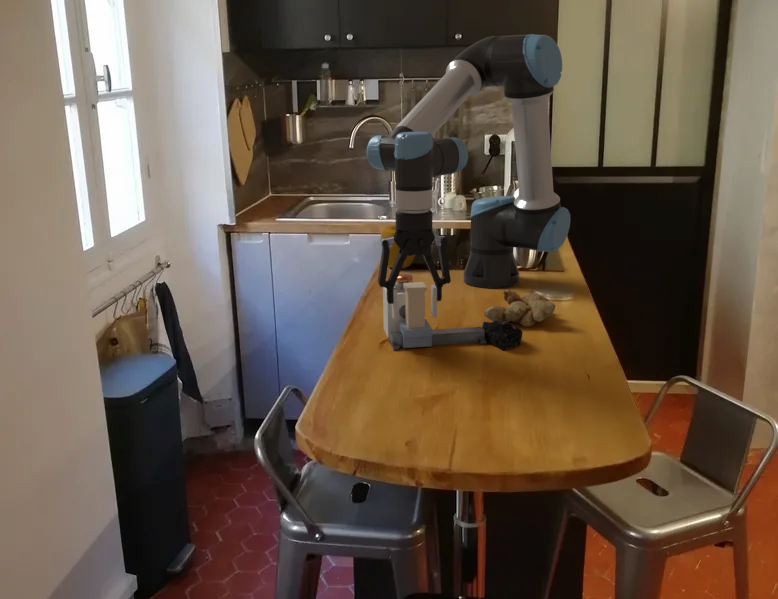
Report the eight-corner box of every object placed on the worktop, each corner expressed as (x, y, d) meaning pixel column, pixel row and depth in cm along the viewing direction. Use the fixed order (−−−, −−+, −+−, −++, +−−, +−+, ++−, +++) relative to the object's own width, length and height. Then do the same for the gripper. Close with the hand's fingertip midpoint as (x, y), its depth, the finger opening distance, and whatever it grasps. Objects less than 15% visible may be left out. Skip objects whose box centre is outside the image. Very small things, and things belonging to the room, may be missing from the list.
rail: (479, 335, 173) (479, 324, 172) (486, 344, 167) (486, 333, 167) (389, 340, 170) (389, 330, 170) (393, 350, 165) (393, 339, 164)
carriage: (425, 336, 172) (425, 279, 168) (432, 347, 165) (432, 288, 162) (398, 338, 171) (398, 281, 167) (404, 349, 164) (403, 290, 161)
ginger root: (566, 308, 187) (564, 279, 183) (549, 344, 174) (548, 313, 171) (502, 303, 193) (500, 274, 190) (482, 337, 181) (479, 307, 177)
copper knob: (410, 299, 176) (410, 273, 174) (413, 304, 172) (413, 278, 170) (392, 300, 175) (392, 274, 174) (395, 305, 172) (395, 278, 170)
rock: (501, 332, 175) (502, 307, 174) (530, 346, 167) (531, 320, 165) (475, 338, 172) (475, 312, 170) (502, 352, 163) (503, 325, 162)
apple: (425, 265, 235) (425, 222, 231) (406, 273, 226) (405, 229, 223) (393, 261, 241) (393, 219, 237) (374, 268, 232) (373, 225, 228)
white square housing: (418, 326, 180) (418, 284, 177) (424, 337, 173) (424, 293, 170) (383, 328, 178) (382, 286, 176) (388, 339, 171) (387, 295, 169)
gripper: (458, 204, 165) (457, 308, 171) (361, 208, 162) (363, 314, 169) (467, 210, 158) (466, 319, 164) (365, 215, 155) (368, 325, 161)
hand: (414, 316), depth 166 cm, fingers open, 8 cm apart
